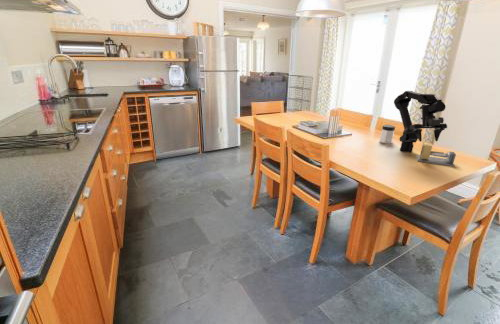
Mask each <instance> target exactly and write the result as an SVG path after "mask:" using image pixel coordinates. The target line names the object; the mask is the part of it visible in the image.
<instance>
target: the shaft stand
mask: <svg viewBox="0 0 500 324" xmlns="http://www.w3.org/2000/svg"><path fill="white" fill-rule="evenodd" d="M456 155H457V154H456V153H455V151H447V153H444V152H441V151H432V150H431V153H430V157H429V160H428V159H421V157H420V154H416V159H417V162H420V163H427V164H431V165H432V164H433V165H440V166H441V165H442V166H448V167H454V166H455V163H454V162H455V159H456Z"/></svg>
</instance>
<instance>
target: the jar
mask: <svg viewBox="0 0 500 324" xmlns="http://www.w3.org/2000/svg"><path fill="white" fill-rule="evenodd" d="M381 128H382V129H381V132H380V136H379V137H380V138H379V142H380V143H382V144H392V142H393V139H394V134H395V130H396V126H395V125H391V124H383V125H382V127H381Z"/></svg>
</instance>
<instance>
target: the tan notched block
mask: <svg viewBox="0 0 500 324" xmlns="http://www.w3.org/2000/svg"><path fill="white" fill-rule="evenodd" d="M432 149H433V145H432V143H431V142H422V145H421V148H420V154H419V155H420V157H421V159H428V160H429V157H431V156H430V153H431V151H432Z"/></svg>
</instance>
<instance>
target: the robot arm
mask: <svg viewBox="0 0 500 324" xmlns="http://www.w3.org/2000/svg"><path fill="white" fill-rule="evenodd" d="M412 100H415V101H417V102H418V103H419V104H420V105H421V106H420V107H419V110H421V117H420V120H422V121H421V122H422V123H414V124H413V123H412V119H411V115H410V111H409V109H408V107H409V105H410V102H411V101H412ZM393 104H394V106H395V108H396V109H397V110H398V111H399V114H400V118H401V121H402V125H403V131H402V135H401V136H400V137H399V141H400V142H401V143H400V147H399V151H400V152H406V153H412V152H413V148H414V144H415V143H417V141H419V142H422V132H423V129H434V130H433V132H434V140H435V142H438V141H439V138H440V136H441V133H442V131H445V129H448V125H447V123H444V121H445V119H444V117H442V116H441V117H437V118H436V115H434V114H436V113H441V112H444V111H445V110H446V105H445V102H443V100H442V99H438V98H437V97H436V95H435V94H434V93H421V92H416V91H413V90H405V91H404V92H402V94H399V95H398V96H397V97H396V98H395V99H394V100H393Z"/></svg>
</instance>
